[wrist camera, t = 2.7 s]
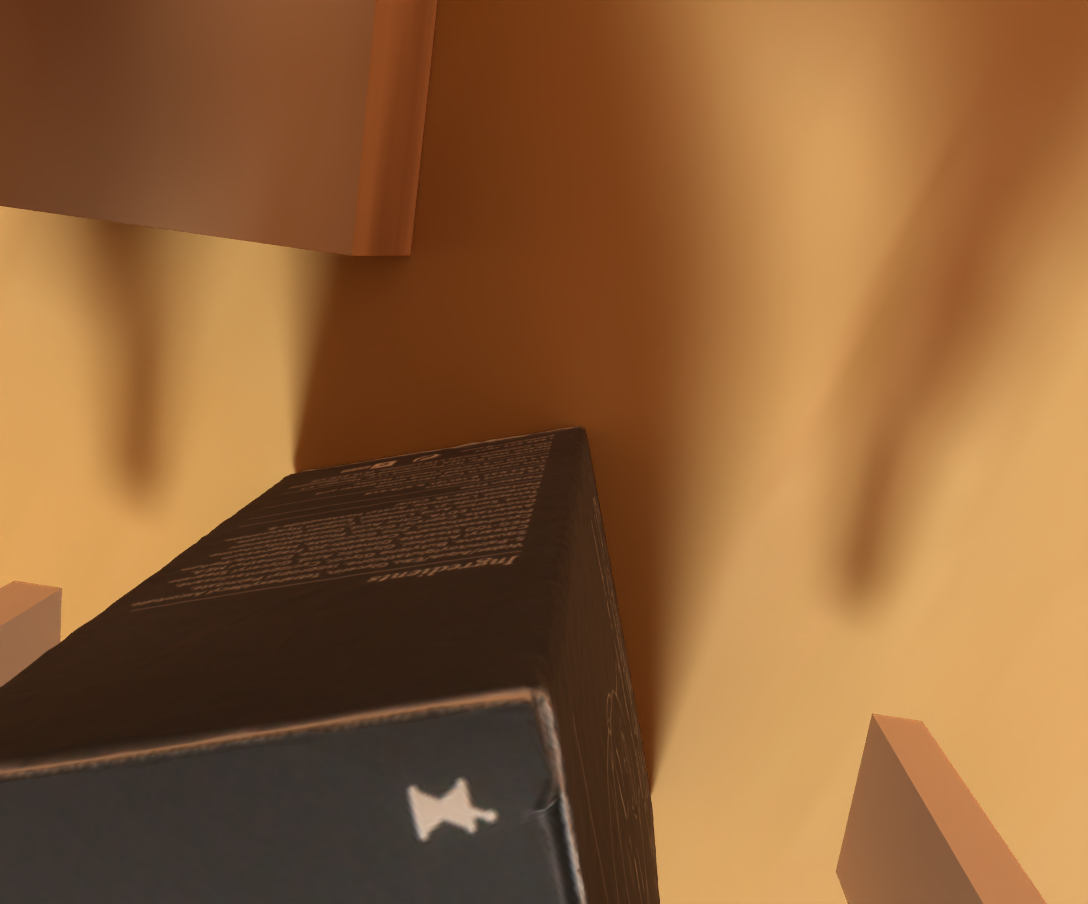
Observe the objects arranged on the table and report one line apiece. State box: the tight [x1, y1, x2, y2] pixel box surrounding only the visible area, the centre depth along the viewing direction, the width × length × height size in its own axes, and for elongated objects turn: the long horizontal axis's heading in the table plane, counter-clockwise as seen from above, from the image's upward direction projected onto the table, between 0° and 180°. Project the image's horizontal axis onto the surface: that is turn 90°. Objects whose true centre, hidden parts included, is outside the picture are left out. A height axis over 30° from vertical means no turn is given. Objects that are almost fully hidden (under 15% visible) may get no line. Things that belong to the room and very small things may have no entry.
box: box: [0, 427, 660, 904], centre depth 13 cm, size 8×6×11 cm
